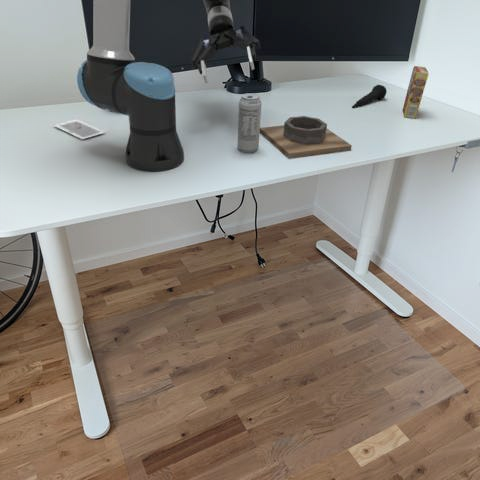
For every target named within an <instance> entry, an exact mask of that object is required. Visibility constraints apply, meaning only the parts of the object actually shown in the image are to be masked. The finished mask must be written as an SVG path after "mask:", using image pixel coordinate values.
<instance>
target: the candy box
mask: <svg viewBox="0 0 480 480" xmlns="http://www.w3.org/2000/svg"><path fill="white" fill-rule="evenodd" d="M428 78H429V72H428V69H427V67H425V66H421V65H420V66H419V65H418V66H417V65H413V68H412V72H411V76H410V79H409V83H408V88H407V91H406V95H405V99H404V103H403V107H402V112H403V117H404V118H407V119H408V118H410V119H417V116H418V112H419V109H420V105H421V101H422V97H423V94H424V91H425V87H426V84H427V81H428Z"/></svg>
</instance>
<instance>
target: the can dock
mask: <svg viewBox="0 0 480 480" xmlns="http://www.w3.org/2000/svg"><path fill="white" fill-rule="evenodd" d="M327 127H328V124H327V122H325V121H323V120H321V119H320V118H317V117H312V116H307V115H298V116H290V117H288V118H287V119H286V120H285V121H284V124H282V125H273V126H263V127H262V126H261V127H260V133H259V134H261V135H262V137H264V138H265V140H267V141H268V142H269V143H270V144H272V145H273V146H274V147H275V148H276V149H277V150H278V151H280V152H281V153H282V154H283V156H285V157H286V158H288V159H296V158H302V157H311V156H318V155H324V154H335V153H340V152H349V151H351V150H352V144H351V143H349V142H348V141H346V140H345V139H343V138H342V137H340V136H339V135H337V134H336V133H334V132H333V131H332V130H330V129H328V128H327Z"/></svg>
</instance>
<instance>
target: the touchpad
mask: <svg viewBox="0 0 480 480" xmlns="http://www.w3.org/2000/svg"><path fill="white" fill-rule="evenodd" d="M53 126H54V127H56V128H58V129H60V130H63V131H64V132H66V133H69V134H70V135H73V136H75V137H76V138H78V139H81V140H85V139H87V138H91V137H95V136H98V135H101V134H105V133H106V131H104V130H101V129H99V128H97V127H95V126H92V125H90V124H89V123H86V122H83V121H81V120H79V119H77V118H76V119H73V120H72V119H71V120H69V121H64V122H61V123H57V124H53Z"/></svg>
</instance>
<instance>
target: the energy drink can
mask: <svg viewBox="0 0 480 480" xmlns="http://www.w3.org/2000/svg"><path fill="white" fill-rule="evenodd" d="M260 98H261V97H260V95H259V94H256V93H252V92H251V93H250V92H249V93H248V92H247V93H243V94H241V98H240V99H239V101H238V114H237V115H238V116H237V117H238V119H237V139H236V141H237V142H236V143H237V145H236V146H237V148H238V150H239V151H240V152H242V153H247V154H250V153H255V152H256V151H257V149H259V145H260V144H259V143H260V134H261V133H260V128H261V114H262V101H261V99H260Z"/></svg>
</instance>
